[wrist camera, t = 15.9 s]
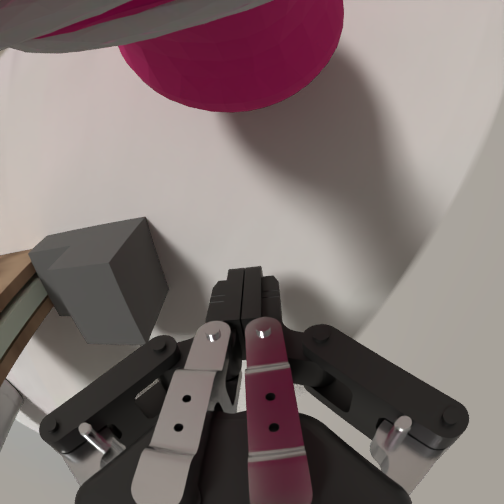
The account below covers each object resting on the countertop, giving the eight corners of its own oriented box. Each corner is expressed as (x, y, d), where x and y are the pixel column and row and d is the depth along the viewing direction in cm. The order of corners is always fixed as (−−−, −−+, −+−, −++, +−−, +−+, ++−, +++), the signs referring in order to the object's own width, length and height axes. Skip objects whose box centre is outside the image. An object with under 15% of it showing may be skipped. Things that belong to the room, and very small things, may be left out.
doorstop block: (75, 294, 19) (43, 340, 15) (48, 234, 17) (5, 275, 13) (169, 287, 19) (147, 345, 14) (146, 215, 16) (108, 262, 12)
